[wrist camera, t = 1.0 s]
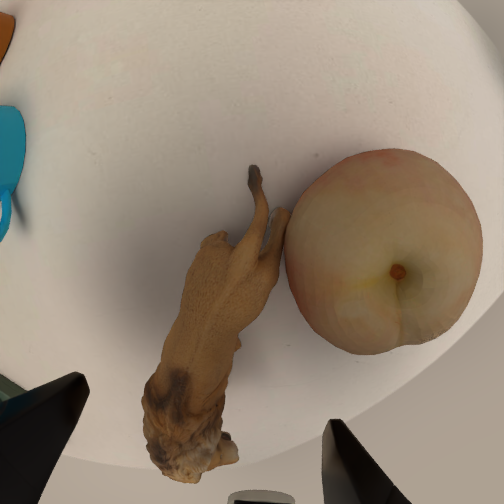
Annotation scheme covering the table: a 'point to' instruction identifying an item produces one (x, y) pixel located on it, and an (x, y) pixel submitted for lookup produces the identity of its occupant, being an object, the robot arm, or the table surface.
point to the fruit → (383, 251)
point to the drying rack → (9, 389)
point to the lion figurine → (210, 344)
